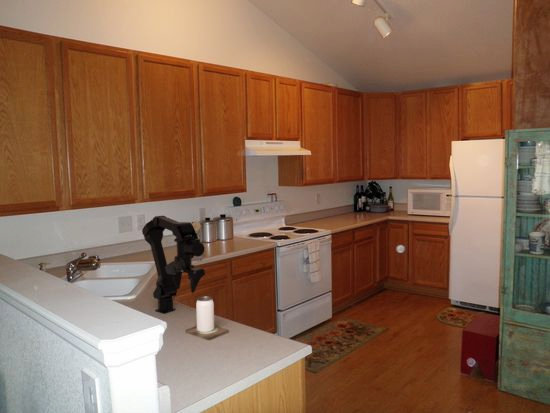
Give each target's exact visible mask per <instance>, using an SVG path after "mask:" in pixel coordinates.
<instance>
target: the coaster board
mask: <svg viewBox="0 0 550 413" xmlns="http://www.w3.org/2000/svg"><path fill="white" fill-rule="evenodd" d="M229 332H230V331H229V329H228V328H224V327H221V326H218V325H215V324H214V329H213V330H212V331H210V332H199V331H198V330H197V325H194V326H193V327H190V328H187V329H185V333H187V334H189V335H192V336H195V337H198V338H201V339H204V340H208V341H212V340H214V339H216V338H218V337H221V336H224V335H226V334H227V333H228V334H229Z"/></svg>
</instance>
